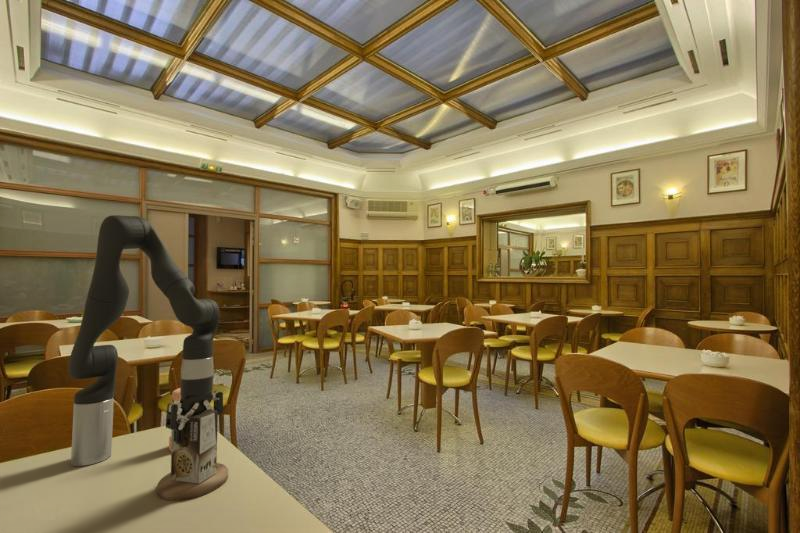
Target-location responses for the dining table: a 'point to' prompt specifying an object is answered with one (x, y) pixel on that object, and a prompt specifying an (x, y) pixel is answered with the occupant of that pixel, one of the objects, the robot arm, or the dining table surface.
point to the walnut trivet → (191, 485)
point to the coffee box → (196, 449)
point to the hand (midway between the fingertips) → (195, 437)
